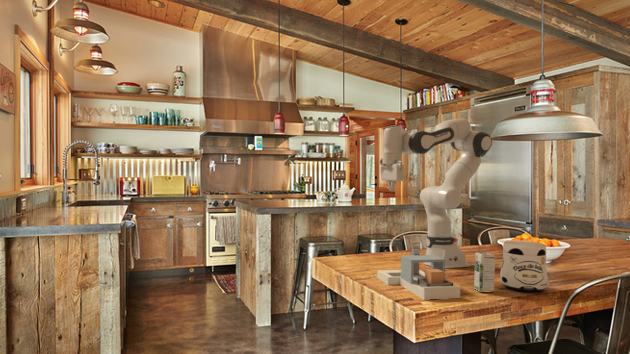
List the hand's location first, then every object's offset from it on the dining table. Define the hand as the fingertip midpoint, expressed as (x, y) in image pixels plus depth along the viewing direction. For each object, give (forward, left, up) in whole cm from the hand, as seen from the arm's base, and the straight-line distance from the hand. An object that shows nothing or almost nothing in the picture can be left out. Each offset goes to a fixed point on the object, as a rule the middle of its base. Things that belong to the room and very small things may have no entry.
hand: (391, 190), depth 202 cm
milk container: (-42, +36, -37) cm, 67 cm away
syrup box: (-24, +37, -37) cm, 58 cm away
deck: (+1, +28, -37) cm, 46 cm away
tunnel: (-2, +29, -34) cm, 45 cm away
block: (-2, +39, -34) cm, 52 cm away
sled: (-2, +32, -34) cm, 47 cm away
